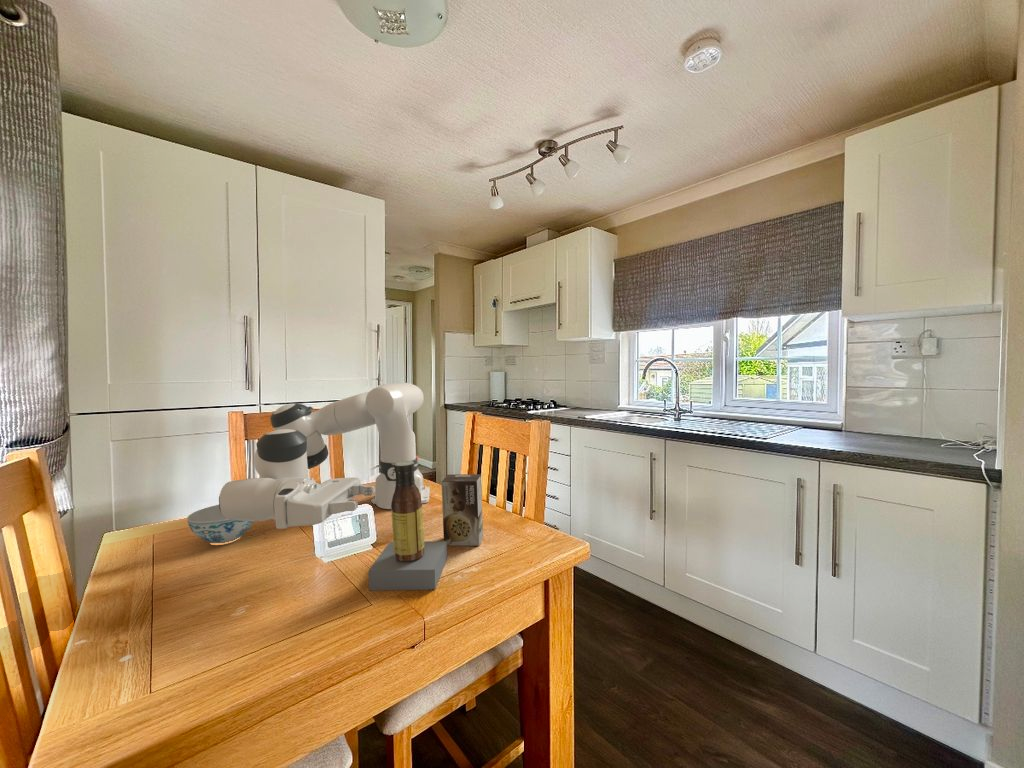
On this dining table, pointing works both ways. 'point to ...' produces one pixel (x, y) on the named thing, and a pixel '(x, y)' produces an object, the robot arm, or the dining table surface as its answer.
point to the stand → (409, 569)
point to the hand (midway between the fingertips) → (365, 497)
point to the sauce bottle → (407, 514)
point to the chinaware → (216, 525)
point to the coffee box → (462, 509)
